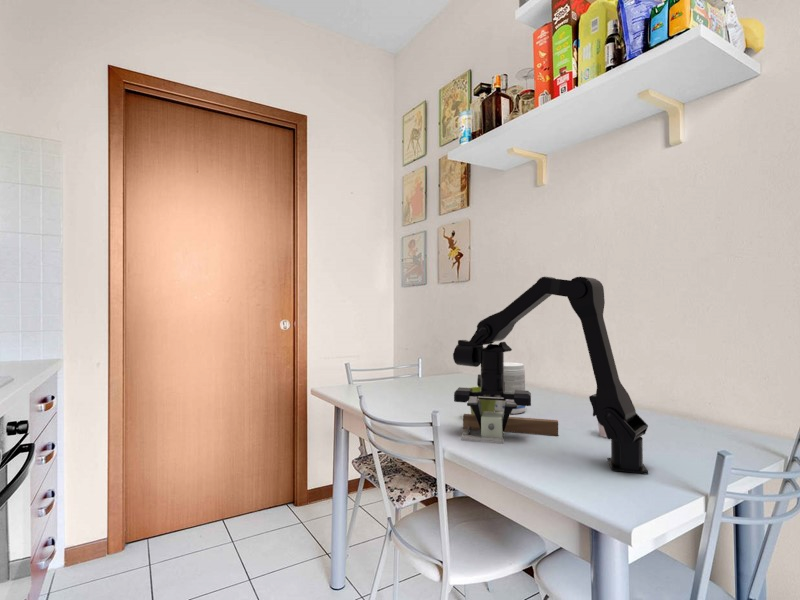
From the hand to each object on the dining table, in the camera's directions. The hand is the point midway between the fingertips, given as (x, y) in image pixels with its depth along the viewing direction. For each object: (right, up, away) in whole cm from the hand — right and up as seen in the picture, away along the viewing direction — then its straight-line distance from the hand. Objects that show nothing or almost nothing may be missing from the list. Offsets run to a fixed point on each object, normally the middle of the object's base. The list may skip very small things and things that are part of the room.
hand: (492, 430), depth 111 cm
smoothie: (+29, -2, 0) cm, 29 cm away
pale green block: (0, -1, 0) cm, 1 cm away
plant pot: (0, -2, +16) cm, 16 cm away
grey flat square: (-2, -1, 0) cm, 3 cm away
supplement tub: (+11, -2, +27) cm, 29 cm away
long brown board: (+5, -1, +4) cm, 7 cm away
